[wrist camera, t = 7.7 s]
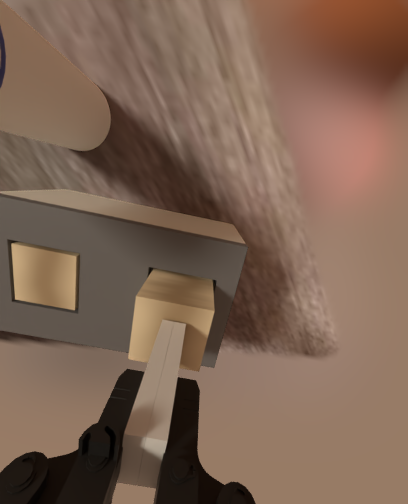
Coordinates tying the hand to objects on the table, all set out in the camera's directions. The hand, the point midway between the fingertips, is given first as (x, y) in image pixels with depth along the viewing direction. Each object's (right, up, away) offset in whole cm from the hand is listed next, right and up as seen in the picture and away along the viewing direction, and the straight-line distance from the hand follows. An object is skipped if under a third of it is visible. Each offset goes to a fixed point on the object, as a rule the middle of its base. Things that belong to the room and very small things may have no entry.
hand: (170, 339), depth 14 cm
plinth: (-5, +5, +13) cm, 15 cm away
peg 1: (-11, +6, +11) cm, 17 cm away
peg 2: (0, +3, +8) cm, 8 cm away
